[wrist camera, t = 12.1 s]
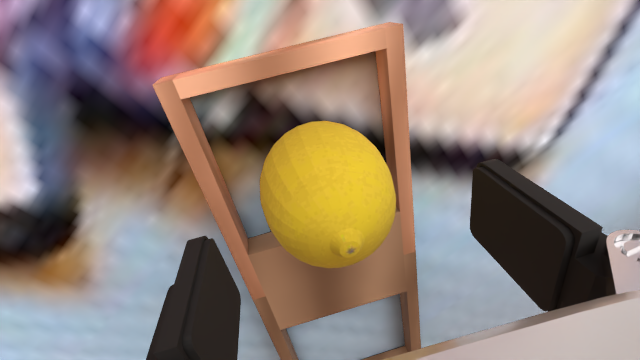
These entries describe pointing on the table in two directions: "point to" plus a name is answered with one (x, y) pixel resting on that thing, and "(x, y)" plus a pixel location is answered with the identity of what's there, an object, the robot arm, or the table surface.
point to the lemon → (327, 194)
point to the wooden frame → (265, 250)
